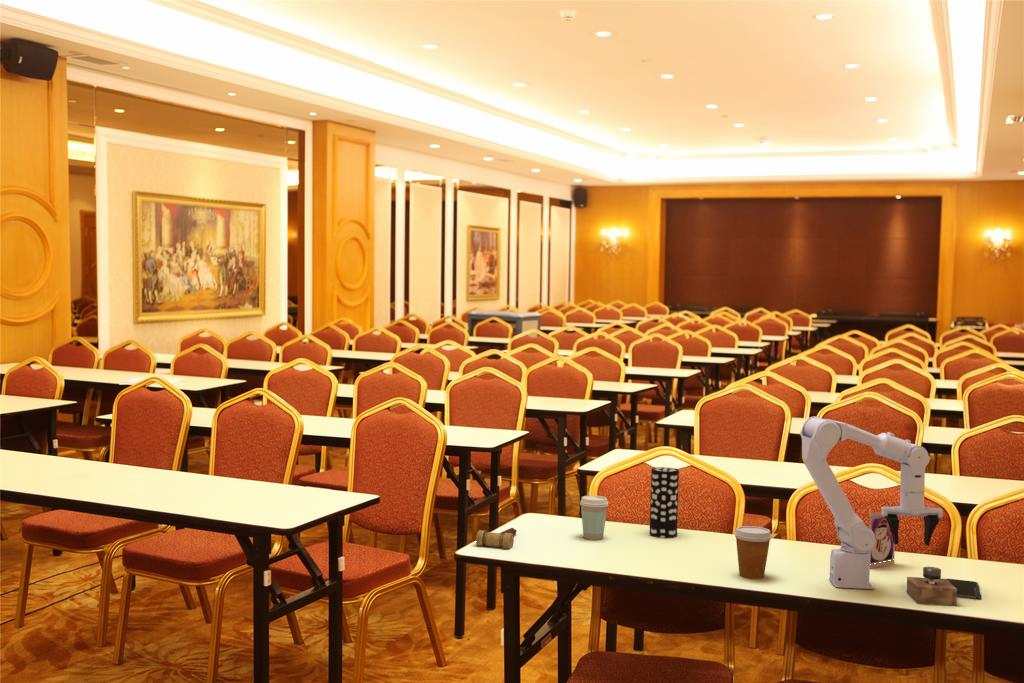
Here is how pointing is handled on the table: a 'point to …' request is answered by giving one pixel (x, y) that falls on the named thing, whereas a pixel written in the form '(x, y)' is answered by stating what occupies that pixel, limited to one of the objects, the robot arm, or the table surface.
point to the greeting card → (881, 541)
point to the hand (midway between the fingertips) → (911, 544)
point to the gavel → (496, 538)
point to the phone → (966, 589)
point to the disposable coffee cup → (752, 550)
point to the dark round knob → (931, 574)
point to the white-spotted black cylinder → (664, 502)
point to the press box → (931, 591)
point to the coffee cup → (593, 516)
